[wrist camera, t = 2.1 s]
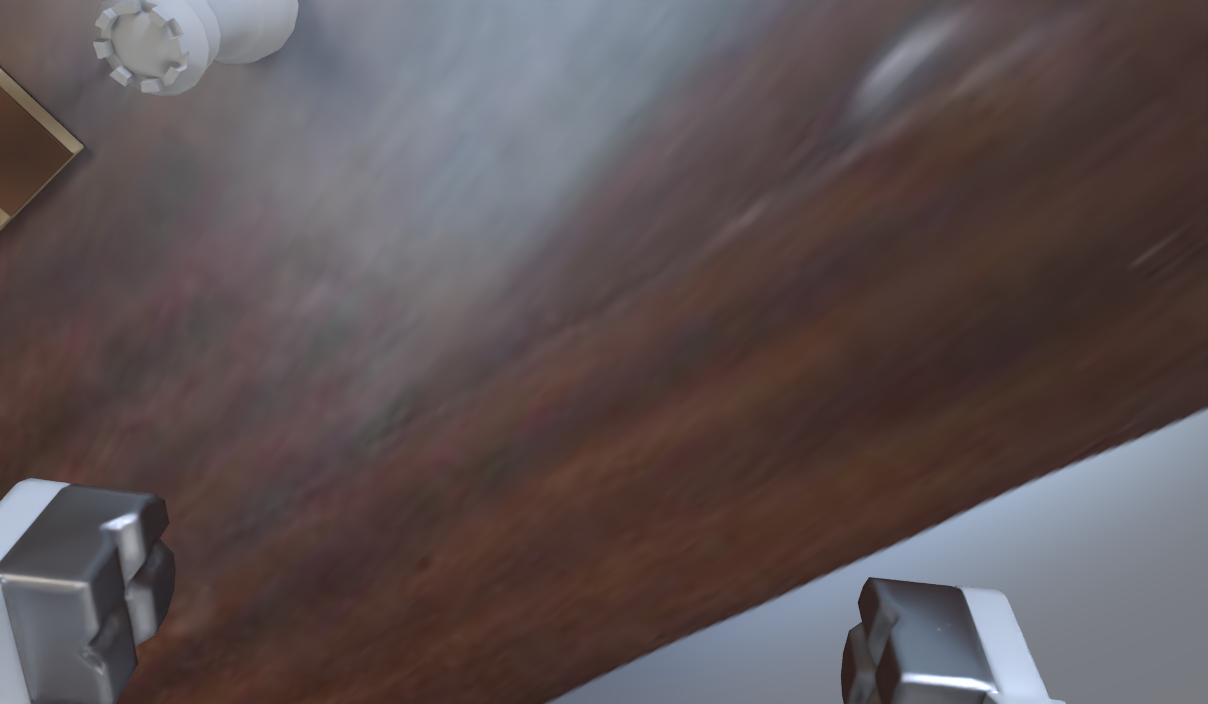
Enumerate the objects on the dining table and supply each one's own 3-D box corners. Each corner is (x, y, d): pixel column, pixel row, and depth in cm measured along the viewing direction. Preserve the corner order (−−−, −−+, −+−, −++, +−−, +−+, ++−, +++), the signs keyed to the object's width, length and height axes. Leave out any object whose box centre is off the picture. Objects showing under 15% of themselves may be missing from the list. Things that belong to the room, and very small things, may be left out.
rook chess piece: (180, 47, 37) (68, 113, 30) (170, -86, 34) (47, -48, 27) (303, 66, 37) (220, 136, 30) (302, -65, 34) (212, -22, 28)
